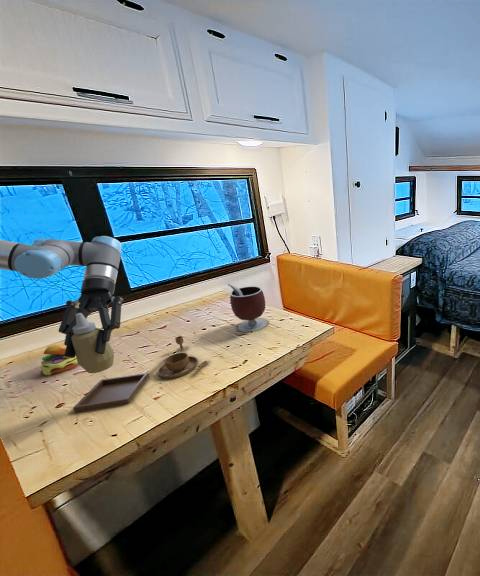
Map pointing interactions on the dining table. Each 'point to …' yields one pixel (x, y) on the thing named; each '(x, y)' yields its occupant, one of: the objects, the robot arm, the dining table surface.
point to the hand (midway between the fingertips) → (84, 354)
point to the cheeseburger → (57, 360)
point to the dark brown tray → (112, 392)
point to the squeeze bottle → (90, 347)
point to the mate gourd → (248, 307)
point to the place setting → (179, 363)
